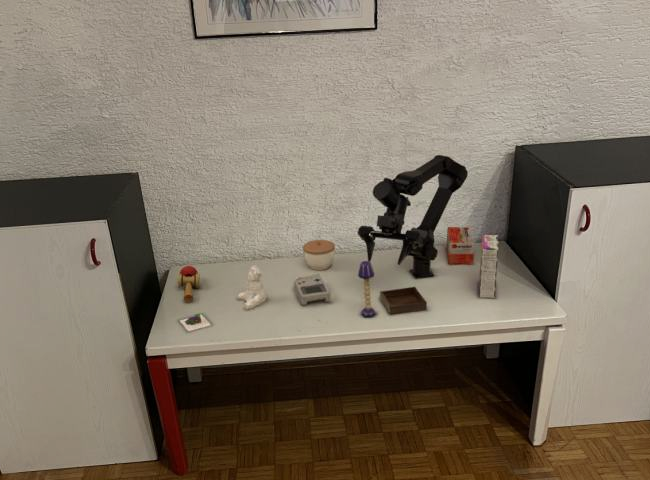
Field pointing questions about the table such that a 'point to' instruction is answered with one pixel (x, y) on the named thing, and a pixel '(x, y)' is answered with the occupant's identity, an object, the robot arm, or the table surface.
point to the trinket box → (319, 254)
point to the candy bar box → (488, 266)
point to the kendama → (188, 281)
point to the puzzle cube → (195, 322)
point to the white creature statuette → (253, 289)
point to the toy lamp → (366, 287)
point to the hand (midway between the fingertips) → (383, 263)
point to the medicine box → (460, 245)
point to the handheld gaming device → (311, 289)
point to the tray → (403, 300)
